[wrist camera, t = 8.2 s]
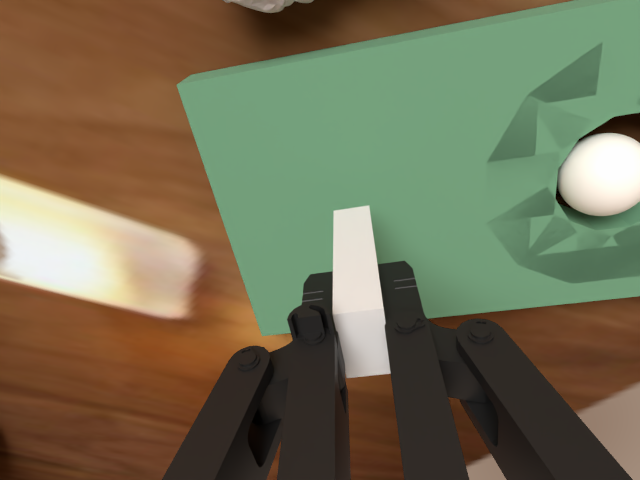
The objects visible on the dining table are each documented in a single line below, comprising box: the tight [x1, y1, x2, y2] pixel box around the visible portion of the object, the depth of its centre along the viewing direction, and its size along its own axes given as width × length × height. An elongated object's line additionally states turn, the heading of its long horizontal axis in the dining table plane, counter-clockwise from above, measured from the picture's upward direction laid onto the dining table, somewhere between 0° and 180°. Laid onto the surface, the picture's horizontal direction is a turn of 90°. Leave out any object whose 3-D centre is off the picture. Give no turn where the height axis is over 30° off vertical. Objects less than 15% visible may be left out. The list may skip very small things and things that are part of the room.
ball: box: [557, 133, 640, 216], centre depth 20 cm, size 4×4×4 cm
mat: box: [177, 0, 640, 336], centre depth 20 cm, size 25×14×4 cm, turn 101°
